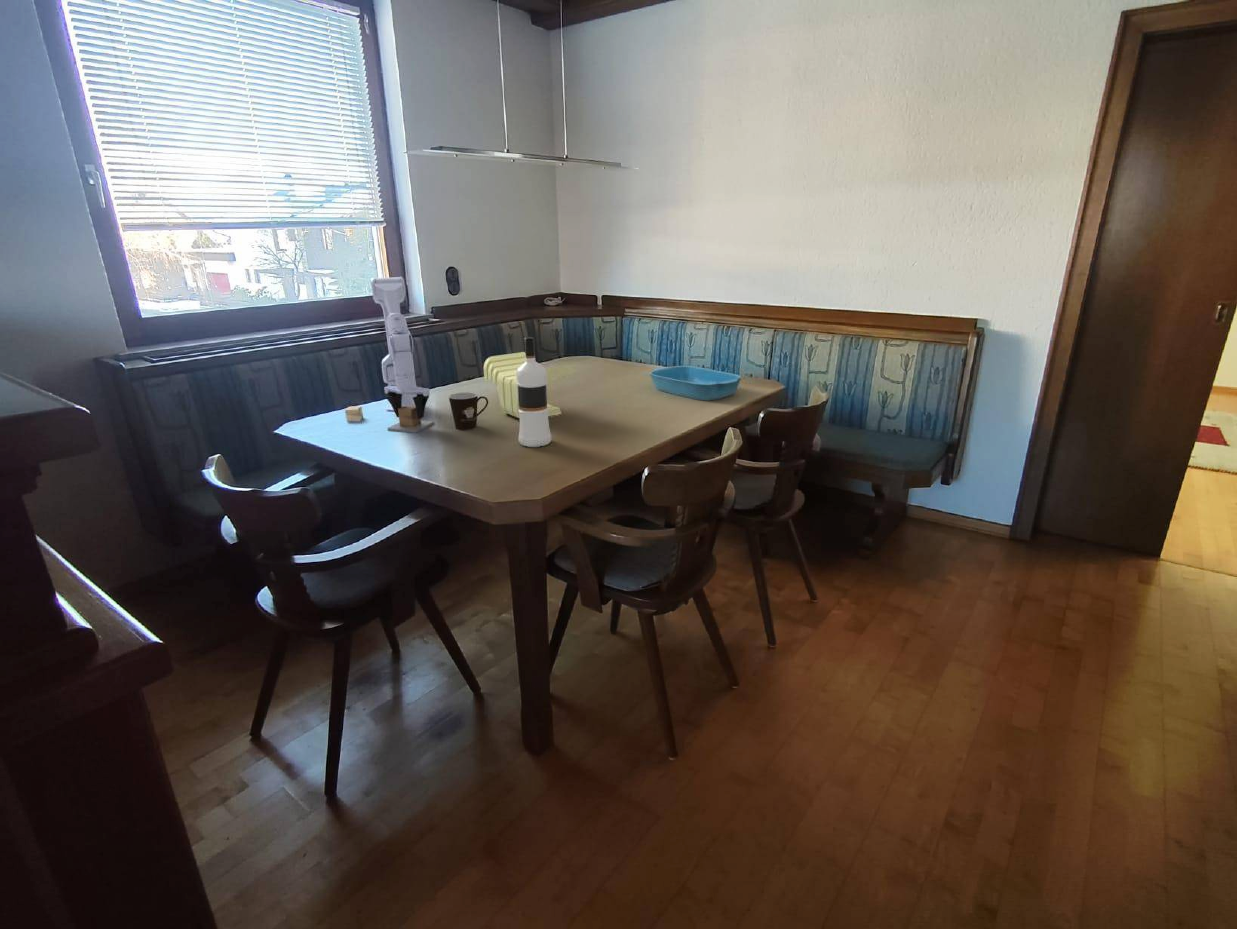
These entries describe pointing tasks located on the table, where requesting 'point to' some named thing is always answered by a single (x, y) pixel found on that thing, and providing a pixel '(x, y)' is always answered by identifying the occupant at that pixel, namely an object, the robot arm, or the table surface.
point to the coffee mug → (465, 409)
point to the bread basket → (506, 381)
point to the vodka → (532, 400)
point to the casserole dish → (695, 382)
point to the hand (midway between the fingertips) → (410, 417)
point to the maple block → (354, 413)
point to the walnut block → (408, 416)
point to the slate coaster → (411, 429)
